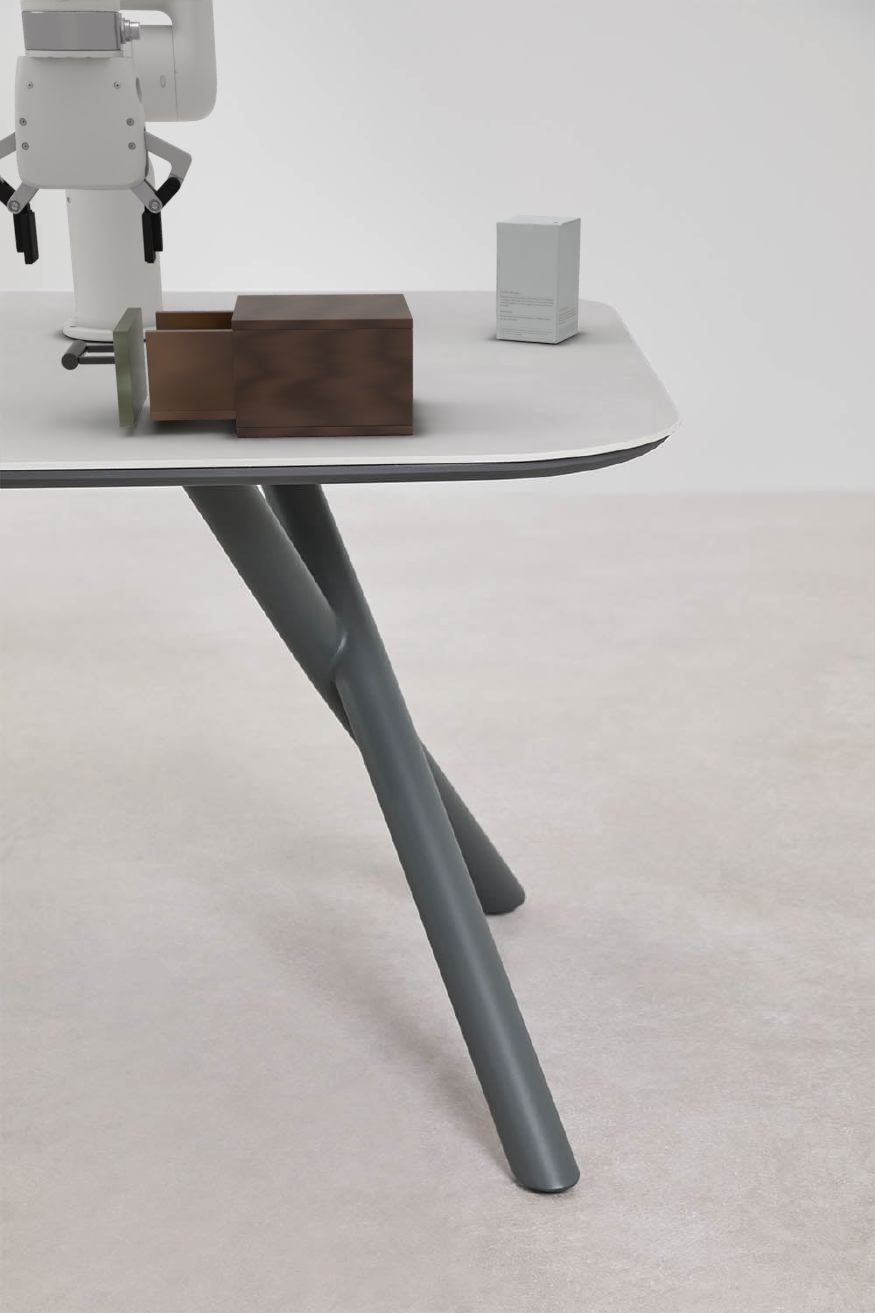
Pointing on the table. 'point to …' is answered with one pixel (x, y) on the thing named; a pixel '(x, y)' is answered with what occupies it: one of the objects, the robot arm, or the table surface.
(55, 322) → the table surface
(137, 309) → the drawer
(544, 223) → the white packaging box
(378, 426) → the cabinet
